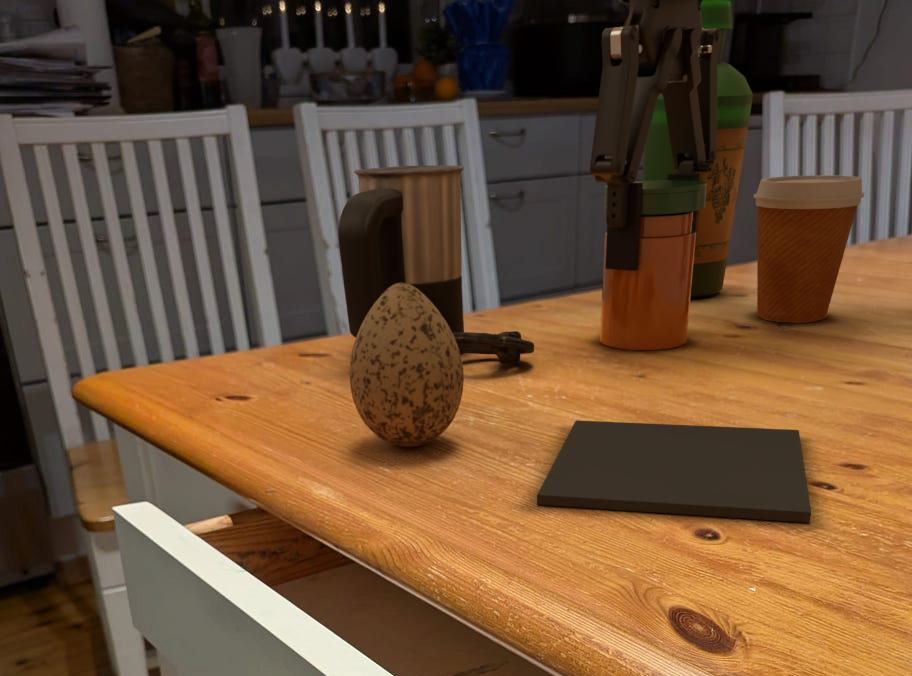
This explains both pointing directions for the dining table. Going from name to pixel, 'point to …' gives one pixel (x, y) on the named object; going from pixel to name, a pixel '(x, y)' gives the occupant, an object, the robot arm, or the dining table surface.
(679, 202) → the jar lid
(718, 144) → the bottle
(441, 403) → the decorative egg
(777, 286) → the disposable coffee cup
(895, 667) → the dining table surface
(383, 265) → the milk frother
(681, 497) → the mat
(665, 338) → the jam jar
